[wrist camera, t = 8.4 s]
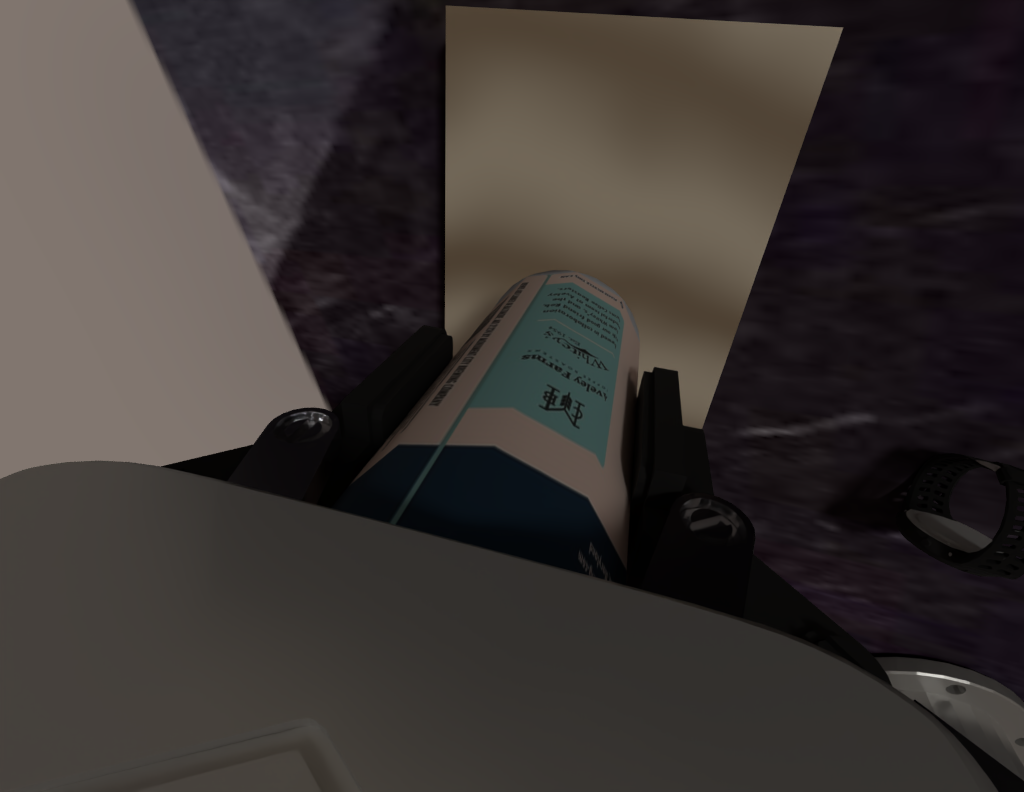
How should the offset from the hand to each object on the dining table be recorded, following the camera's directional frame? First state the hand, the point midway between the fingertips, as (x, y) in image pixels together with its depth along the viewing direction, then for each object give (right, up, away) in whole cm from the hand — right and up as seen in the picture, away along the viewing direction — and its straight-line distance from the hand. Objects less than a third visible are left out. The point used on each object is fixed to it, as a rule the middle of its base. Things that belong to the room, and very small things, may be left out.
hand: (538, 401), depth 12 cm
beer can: (+1, +2, +3) cm, 4 cm away
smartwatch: (+19, -3, +9) cm, 21 cm away
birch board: (+3, +5, +9) cm, 11 cm away
